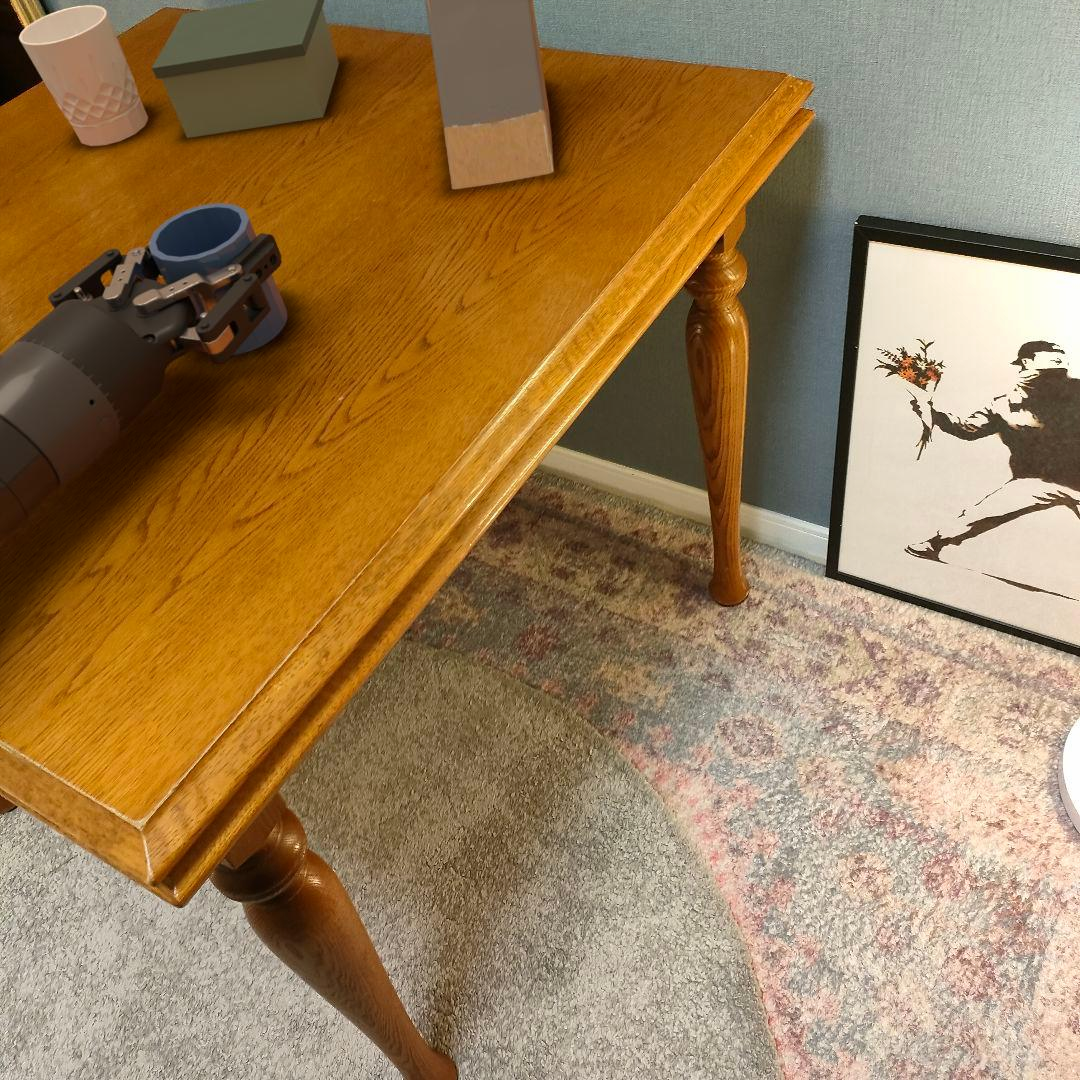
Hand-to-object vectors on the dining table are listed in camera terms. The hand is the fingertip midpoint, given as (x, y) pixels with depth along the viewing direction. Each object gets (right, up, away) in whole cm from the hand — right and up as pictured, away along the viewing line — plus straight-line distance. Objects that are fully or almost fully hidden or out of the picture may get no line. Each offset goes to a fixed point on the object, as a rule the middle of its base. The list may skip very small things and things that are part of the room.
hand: (230, 238), depth 68 cm
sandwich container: (+18, +13, +16) cm, 27 cm away
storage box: (-5, +21, +27) cm, 35 cm away
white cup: (-20, +19, +29) cm, 40 cm away
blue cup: (0, -6, +3) cm, 6 cm away
